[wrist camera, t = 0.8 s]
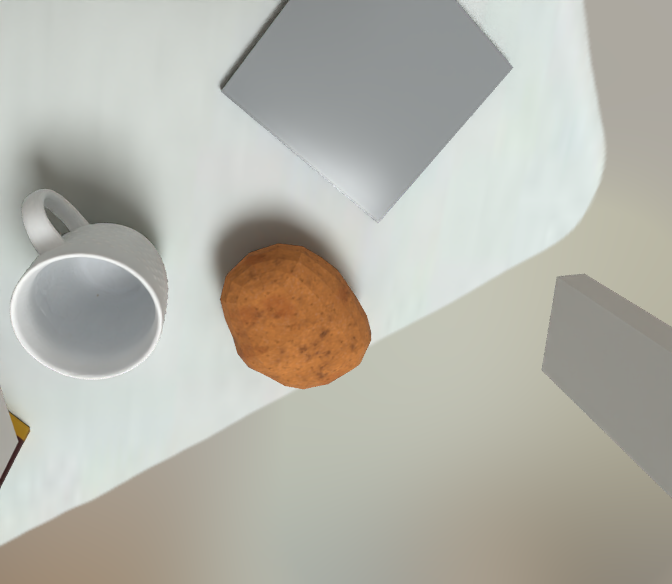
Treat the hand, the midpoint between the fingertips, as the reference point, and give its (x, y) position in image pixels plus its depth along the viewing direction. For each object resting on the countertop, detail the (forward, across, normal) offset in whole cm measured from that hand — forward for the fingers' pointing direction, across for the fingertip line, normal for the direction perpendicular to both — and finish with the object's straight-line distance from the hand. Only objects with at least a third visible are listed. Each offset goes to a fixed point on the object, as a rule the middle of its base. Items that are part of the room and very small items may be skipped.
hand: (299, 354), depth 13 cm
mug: (+27, -10, -6) cm, 29 cm away
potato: (+27, +2, -11) cm, 29 cm away
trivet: (+27, +9, +4) cm, 29 cm away
